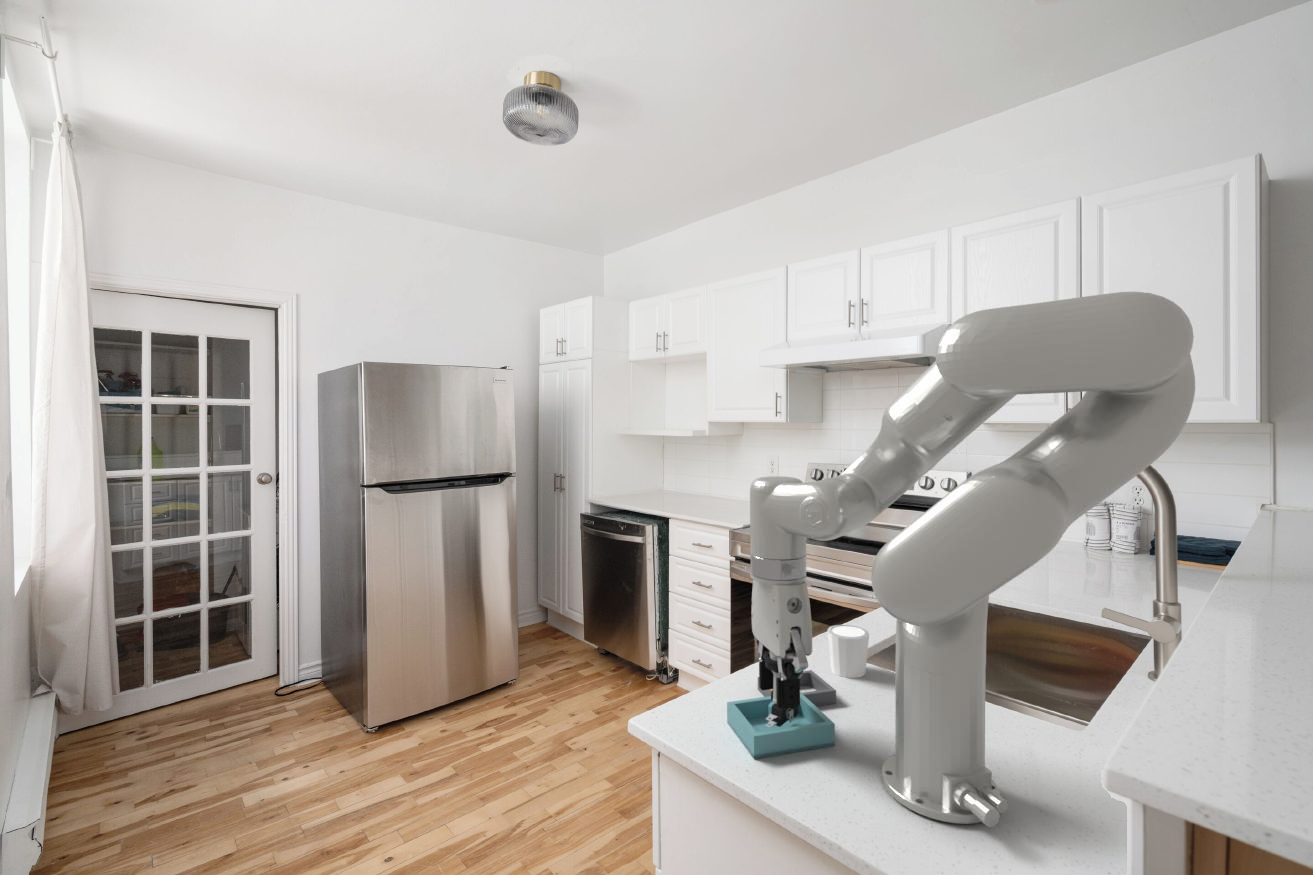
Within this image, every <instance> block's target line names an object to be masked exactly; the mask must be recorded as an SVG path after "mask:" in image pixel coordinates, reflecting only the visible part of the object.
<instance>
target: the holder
mask: <svg viewBox="0 0 1313 875" xmlns="http://www.w3.org/2000/svg"><path fill="white" fill-rule="evenodd" d="M809 685H810V686H811V687H812V688H813V689H814V690H813V691H805V692H801V693H802V694H803V695H804V696H805V697H806V698H807V699H808V700H809V701H811V702H812V703H813V704H814V705H815V706H816V707H820V706H824V705H825V706H826V705H833V704H837V690H836V689H835V687H833V686H832V685H830V684H829V682H827V681H826V680H824V679H823V678H822V677H820V676H819V675H818V674H817V673H815V671H813V670H812V669H811V670H810V669H809V670H804V671H803V672H802V677H801V678H800V687H802V686H809ZM757 690H758V692H760V693H761V695H762V697H768V696H771V691H772V690H773V689H769V690H761V689H760V687H759V676H757Z"/></svg>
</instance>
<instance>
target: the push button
mask: <svg viewBox="0 0 1313 875" xmlns="http://www.w3.org/2000/svg"><path fill="white" fill-rule="evenodd" d="M789 653H792V651H791V650H785V654H789ZM764 659H765V666H766V667H767V669H769V670H771V671H772V672H773V675H774V679H773V690H772V691H771V701H772V702H771V703H770V704H769V705H768V717H767V718H766V720H768V722H769V723H768V724H766V727H769V728H771V727H772V726H774V725H776V726H778V727H780V726H782V725H783V724H784V723H785V722H787V721H788V720H789V722H792V721H793V717H796V716H797V715H798V706H796V707H789V708H782V709H780V708H778V707H777V703H776V678H779V671H778V662H777V656H776V655H775V654H773V653H772V652H771V651H770V650H766V651H765V652H764ZM792 662H793V660H792V659H789V660H785V668H786V667H787V666H788V664H792ZM791 718H792V719H791ZM769 725H771V726H769Z"/></svg>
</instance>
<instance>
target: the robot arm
mask: <svg viewBox="0 0 1313 875" xmlns="http://www.w3.org/2000/svg"><path fill="white" fill-rule="evenodd" d="M1194 337H1195V336H1194V329H1193V325H1192V323H1191V321H1190V318H1189V317H1188V315H1187V314H1186V312H1185V311H1184V310H1183V309H1182V308H1181V307H1180V306H1179V305H1178V304H1177V303H1175V302H1174V301H1172V300H1170V299H1168V298H1166V297H1165V296H1161V295H1158V294H1155V293H1151V292H1142V291H1119V292H1110V293H1104V294H1103V293H1101V294H1095V295H1087V296H1086V295H1085V296H1081V297H1073V298H1065V299H1058V300H1051V301H1044V302H1036V303H1034V302H1033V303H1026V304H1021V305H1011V306H1004V307H996V308H995V307H994V308H988V309H981V310H977V311H974V312H971V313H969V314H965V315H964V316H962V317H960V318H958V319H957V320H955V321H954V322H953V323H952V324H950V326H949V327H948V328H946V330H944V331H943V334H942V335H941V337H940V339H939V340H938V343H937V346H936V350H935V361H934V362H933V363H932V364H931V365H929V367H928V368H927V369H925V371H924V372H922V374H920V375H919V376H918V377H917V378H916V379H915V380H914V381H913V382H912V383H911V384H910V385H908V387H907V388H906V389H905V390H904V391H903V392H901V394H899V396H898V397H896V398H895V399H894V400H893V401H892V402H891V403H890V404H889V405H888V406H887V407H886V409H885V410H884V412H883V415H882V418H881V427H880V429H879V433H878V434H877V436H876V438H875V439H874V441H873V442H872V443H871V445H870V446H869V447H868V448H867V449H866V450H865V451H864V452H863V453H862V454H861V455H860V456H859V457H858V458H856V460H854V462H852V463H851V464H850V465H849V466H848V467H847V468H846V469H845V470H844V471H842V472H841V473H840V474H839V475H837V476H833V477H828V478H823V479H822V480H816V481H810V482H809V481H808V482H803V481H802V480H801V479H799V478H796V477H791V476H782V475H781V476H780V475H779V476H778V475H776V476H773V475H772V476H762V477H758V478H755V479H754V480H753V481H752V483H751V484H750V487H749V531H750V533H749V534H750V535H749V539H750V558H749V559H750V578H751V579H752V587H751V588H752V589H751V590H752V591H751V614H750V615H751V631H752V634H753V637H754V638H755V639H756V644H757V646H758V648H757V649H758V650H757V658H758V660H759V661H758V677H759V687H760V689H761V690H769V689H773V679H774V675H773V672H772V671H771V670H769V669H767V667H766V666H765V659H764V652H765V651H766V650H770V651H771V652H772V653H773V654H775V655H776V656H777V662H778V671H779V678H776V703H777V707H778V708H780V709H782V708H789V707H796V706H799V705H800V692H801V686H800V678H801V677H802V672H803V671H806V669H808V667H809V661H808V659H807V658H808V656H811V655H812V653H813V627H812V626H813V625H812V613H811V603H810V597H809V588H808V585H807V581H806V580H807V538H808V539H811V540H816V541H821V542H824V541H825V542H826V541H832V540H836V539H838V538H841V537H843V536H846V535H847V534H849V533H852V532H854V531H856V530H859V529H861V528H863V527H865V526H867V525H868V524H870V522H872V521H873V520H874V519H876V518H877V517H878V516H879V515H881V514H882V513H883V512H884V511H886V509H887V508H889V507H890V506H891V505H892V504H894V503H895V502H896V501H898V499H900V498H901V496H903V495H904V494H905V493H906V492H907V491H909V489H911V488H912V487H913V486H914V485H915V484H916V483H917V482H918V481H919V480H921V478H922V477H924V476H925V475H926V474H927V473H928V472H930V471H931V470H932V469H933V468H935V467H936V466H937V464H939V462H940V461H942V459H943V458H945V457H946V456H947V455H948V454H949V453H951V452H952V450H954V449H955V448H956V447H958V445H959V444H961V442H963V441H964V439H965V440H966V438H968V437H969V436H970V435H971V434H972V433H973V432H974V431H976V430H977V429H978V428H979V427H981V425H982V424H984V423H985V422H986V421H987V420H988V419H989V418H990V417H992V416H993V415H994V414H996V413H997V412H999V411H1000V409H1002V408H1003V407H1004V406H1005V405H1006V404H1007V403H1009V402H1010V401H1012V399H1014V398H1015V397H1016V396H1017V395H1038V394H1041V395H1042V394H1059V393H1060V394H1062V393H1079V392H1084V395H1083V397H1082V398H1081V399H1080V400H1079V401H1078V402H1077V403H1076V404H1075V405H1074V406H1073V407H1072V408H1070V409H1069V410H1068V411H1067V412H1066V413H1064V414H1063V415H1062V416H1060V417H1059V418H1057V419H1056V420H1055V421H1054V422H1052V423H1051V424H1050V425H1049V426H1048V427H1047V428H1046V429H1045V430H1044V431H1042V433H1040V434H1039V435H1038V436H1036V437H1035V438H1033V439H1032V440H1031V441H1030V442H1028V443H1027V444H1026V445H1025V446H1024V447H1022V448H1020V449H1019V450H1018V451H1017V452H1015V453H1013V454H1012V455H1011V456H1010V457H1008V458H1006V459H1005V460H1004V461H1001V462H1000V463H997V464H996V463H995V464H994V465H992V466H989V467H986V468H984V469H981V470H979V471H978V472H976V473H974V474H972V475H970V476H969V477H968V478H967V479H965V480H964V481H962V482H961V483H960V484H958V485H957V486H956V487H955V488H953V489H952V490H951V491H950V492H948V493H947V494H946V495H945V496H943V497H942V498H941V499H940V500H938V501H937V502H936V503H934V504H933V505H932V506H931V507H930V508H928V509H927V510H926V511H924V512H923V513H922V514H921V515H919V517H917V518H916V519H914V520H913V521H912V522H911V523H909V524H907V526H906V527H904V528H903V529H902V530H901V531H900V532H898V533H896V535H895V536H893V537H892V538H891V539H889V540H887V542H886V543H885V544H884V545H883V546H882V547H881V548H880V549H879V551H878V552H877V554H876V556H875V557H874V560H873V563H872V566H871V573H870V574H871V575H870V579H871V588H872V590H873V593H874V596H875V598H876V600H877V602H878V604H879V605H880V606H881V607H882V608H883V609H884V611H885V612H887V614H888V615H890V616H891V617H893V618H895V619H896V626H895V662H894V663H895V679H894V680H895V682H894V683H895V688H894V689H895V690H894V691H895V693H894V694H895V697H894V698H895V699H894V700H895V704H894V706H895V712H894V713H895V714H894V715H895V716H894V717H895V718H894V719H895V720H894V722H895V728H894V729H895V730H894V732H895V733H894V734H895V745H894V746H895V752H894V754H892V755H891V756H890V757H888V758H886V759H885V761H884V762H883V764H882V768H881V780H882V784H883V786H884V788H885V789H886V791H887V792H888V793H889V794H890V796H891V797H892V798H893V799H894V800H895V801H897V802H899V803H900V804H901V805H902V806H903V807H906V808H907V809H908V810H911V811H912V812H915V813H916V814H919V815H921V816H924V817H927V818H929V819H932V820H937V821H940V822H945V823H949V824H957V825H958V824H959V825H962V824H963V825H965V824H966V825H969V824H978V823H982V824H984V825H985V826H986V827H988V828H994V827H996V826H997V824H999V821H1000V818H1001V816H1000V814H1004V813H1006V811H1007V810H1008V808H1009V804H1008V803H1009V802H1008V801H1007V800H1006V799H1004V798H1003V797H1002V796H1001V792H1000V789H999V787H998V785H997V783H996V782H995V781H994V780H993V778H992V774H993V772H992V771H991V770H990V769H989V768H987V767H986V668H987V629H988V628H987V626H988V624H987V623H988V612H989V602H990V601H989V600H990V595H991V594H993V593H994V592H996V591H998V590H999V589H1001V588H1002V587H1003V586H1005V585H1006V584H1008V583H1010V582H1011V581H1012V580H1014V579H1015V578H1017V577H1019V576H1020V575H1021V574H1023V573H1024V572H1026V571H1027V570H1028V569H1031V567H1033V566H1035V565H1036V564H1038V562H1040V561H1041V560H1042V559H1043V558H1045V557H1046V556H1048V554H1049V553H1051V551H1052V550H1053V549H1054V548H1055V547H1056V546H1057V545H1058V543H1059V542H1060V541H1061V539H1062V537H1063V535H1064V534H1065V533H1066V531H1067V529H1068V528H1069V527H1070V526H1071V525H1072V524H1074V522H1076V521H1077V520H1078V519H1079V518H1080V517H1082V516H1083V515H1085V514H1086V513H1088V512H1089V511H1090V510H1092V509H1093V508H1095V507H1096V506H1098V505H1099V504H1101V503H1102V502H1103V501H1105V500H1106V499H1107V498H1109V497H1111V496H1112V495H1113V494H1114V493H1115V492H1117V491H1118V490H1119V489H1121V488H1122V487H1124V485H1125V484H1127V483H1128V482H1130V481H1131V480H1133V479H1134V478H1135V477H1137V476H1138V475H1140V474H1141V473H1142V472H1144V470H1146V469H1148V467H1150V466H1151V465H1152V464H1154V462H1156V461H1157V460H1158V459H1159V458H1160V457H1161V456H1163V454H1165V452H1166V451H1167V450H1168V449H1169V448H1170V447H1171V446H1172V445H1173V443H1175V441H1176V439H1177V438H1178V437H1179V436H1180V434H1181V432H1182V431H1183V429H1184V427H1185V425H1186V424H1187V422H1188V419H1189V416H1190V414H1191V410H1192V407H1193V405H1194V401H1195V400H1194V399H1195V394H1196V377H1195V369H1194V366H1193V365H1194V364H1193V361H1192V357H1191V353H1192V352H1191V351H1192V349H1193V344H1194ZM785 650H791V651H792V653H789V654H785ZM789 659H792V660H793V662H792V664H788V666H787V667H786V668H785V660H789Z"/></svg>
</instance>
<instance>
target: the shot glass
mask: <svg viewBox="0 0 1313 875" xmlns="http://www.w3.org/2000/svg"><path fill="white" fill-rule="evenodd" d="M827 638H828V650H829V657H830V658H829V660H830V668H831V672H832V673H833V674H835V676H839V677H842V678H845V679H847V678H848V679H858V678H862V677H864V676H865V675H866V671H867V670H866V669H867V660H868V651H869V648H868V647H869V640H870V633H869V631H868V630H867V629H865V628H862V627H859V626H857V625H851V624H835V625H831V626H829V627H828V628H827Z"/></svg>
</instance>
